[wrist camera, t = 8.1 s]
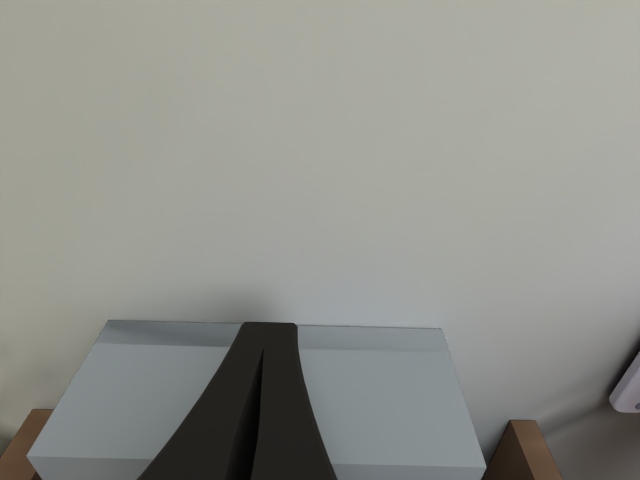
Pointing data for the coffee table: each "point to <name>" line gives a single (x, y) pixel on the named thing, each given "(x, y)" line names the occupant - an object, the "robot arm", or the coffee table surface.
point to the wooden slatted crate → (501, 476)
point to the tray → (322, 386)
